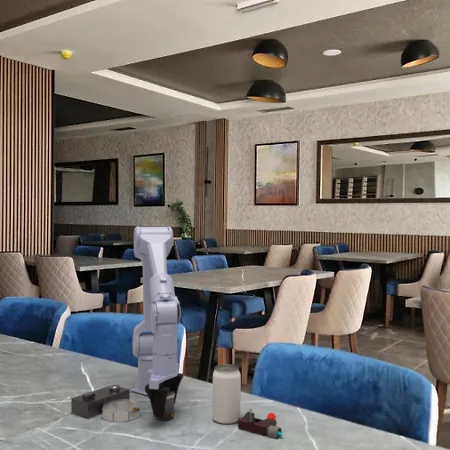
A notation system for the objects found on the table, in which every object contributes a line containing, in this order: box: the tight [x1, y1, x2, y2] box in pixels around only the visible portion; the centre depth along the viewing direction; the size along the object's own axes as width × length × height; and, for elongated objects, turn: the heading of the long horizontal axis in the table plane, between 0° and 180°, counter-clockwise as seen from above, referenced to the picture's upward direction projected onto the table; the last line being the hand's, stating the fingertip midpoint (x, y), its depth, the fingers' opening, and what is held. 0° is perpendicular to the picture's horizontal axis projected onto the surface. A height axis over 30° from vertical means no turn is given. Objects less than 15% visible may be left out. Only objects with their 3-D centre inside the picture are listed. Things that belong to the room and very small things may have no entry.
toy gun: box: [237, 407, 284, 440], centre depth 120 cm, size 10×12×5 cm
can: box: [211, 363, 242, 425], centre depth 125 cm, size 6×6×12 cm
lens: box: [154, 389, 175, 422], centre depth 125 cm, size 5×5×6 cm
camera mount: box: [70, 384, 141, 423], centre depth 129 cm, size 13×15×4 cm
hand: (164, 410), depth 126 cm, fingers open, 7 cm apart
